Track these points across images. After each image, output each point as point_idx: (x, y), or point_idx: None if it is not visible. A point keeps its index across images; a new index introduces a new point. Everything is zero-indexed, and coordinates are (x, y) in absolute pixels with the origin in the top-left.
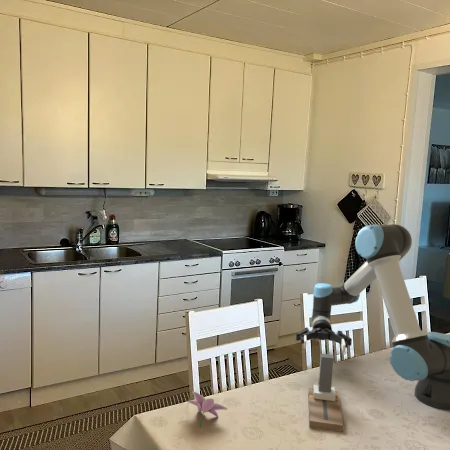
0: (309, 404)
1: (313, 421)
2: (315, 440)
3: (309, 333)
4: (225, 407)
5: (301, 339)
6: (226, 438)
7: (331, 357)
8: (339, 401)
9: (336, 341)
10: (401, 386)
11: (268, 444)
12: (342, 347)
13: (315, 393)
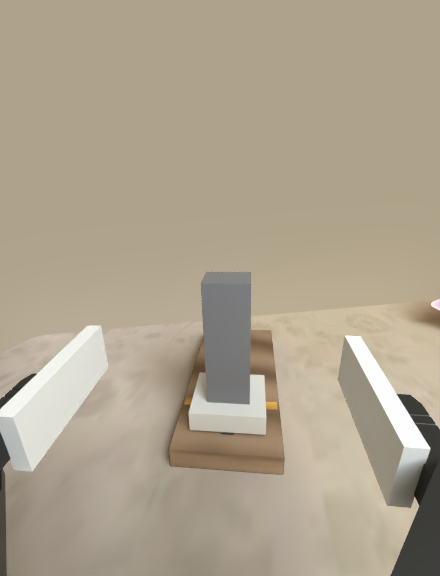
0: (274, 371)
1: (263, 330)
2: (258, 321)
3: (407, 570)
4: (436, 300)
5: (411, 396)
6: (397, 311)
7: (212, 273)
8: (186, 394)
9: (4, 568)
10: None
11: (329, 310)
12: (86, 376)
13: (259, 376)
